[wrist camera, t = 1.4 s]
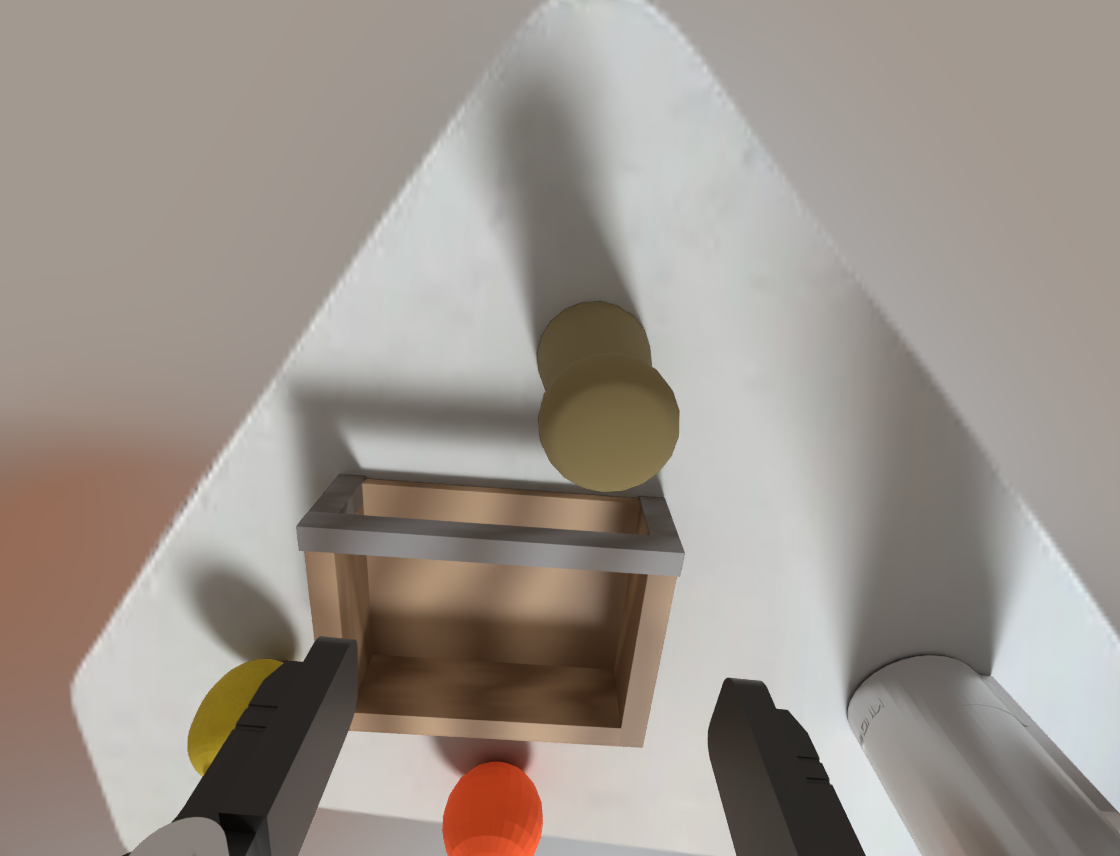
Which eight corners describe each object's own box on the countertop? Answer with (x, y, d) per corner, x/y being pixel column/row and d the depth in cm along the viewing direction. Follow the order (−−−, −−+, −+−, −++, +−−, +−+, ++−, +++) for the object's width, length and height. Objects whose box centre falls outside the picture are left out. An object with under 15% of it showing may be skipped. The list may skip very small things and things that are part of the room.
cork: (641, 416, 30) (684, 524, 20) (532, 407, 29) (518, 511, 19) (659, 307, 27) (717, 364, 17) (541, 295, 27) (530, 346, 17)
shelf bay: (664, 498, 32) (684, 553, 27) (632, 680, 37) (643, 755, 32) (339, 474, 31) (296, 526, 26) (354, 663, 36) (321, 736, 31)
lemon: (237, 684, 37) (156, 803, 30) (241, 624, 35) (157, 734, 28) (317, 700, 38) (258, 820, 30) (326, 642, 36) (265, 755, 28)
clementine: (521, 818, 43) (513, 930, 36) (437, 797, 42) (414, 907, 35) (558, 753, 40) (557, 861, 33) (469, 728, 39) (450, 834, 32)
